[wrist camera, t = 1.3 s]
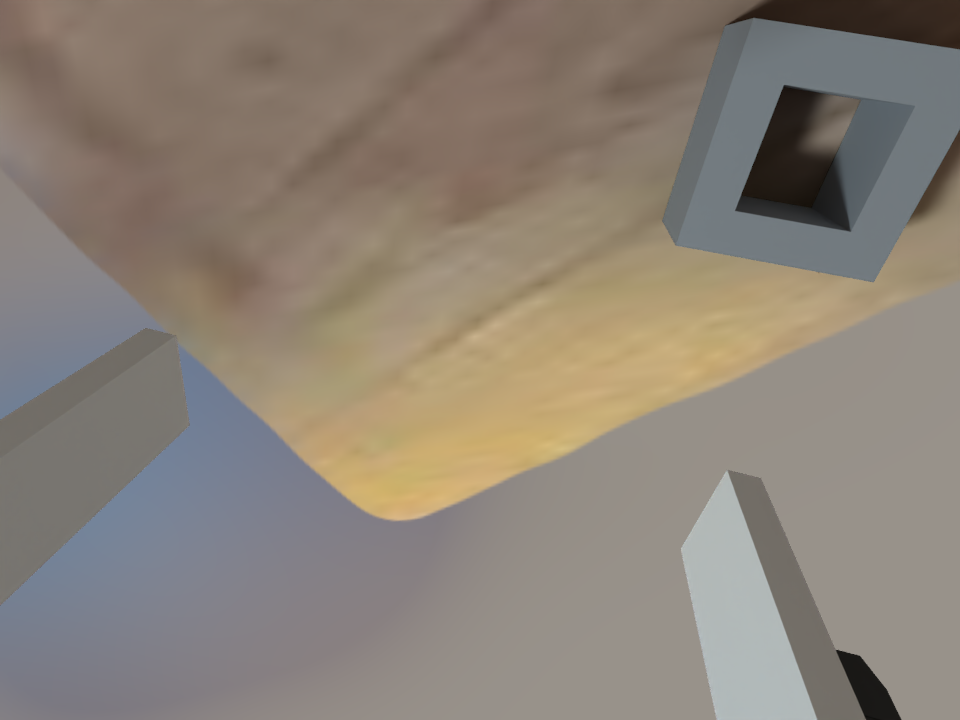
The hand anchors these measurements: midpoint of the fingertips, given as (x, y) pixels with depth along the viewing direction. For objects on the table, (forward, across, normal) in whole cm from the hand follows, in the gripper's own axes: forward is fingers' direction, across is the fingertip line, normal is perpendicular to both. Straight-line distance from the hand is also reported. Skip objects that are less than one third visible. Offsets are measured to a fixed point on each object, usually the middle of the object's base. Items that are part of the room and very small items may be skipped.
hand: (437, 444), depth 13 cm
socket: (+23, +13, +6) cm, 27 cm away
